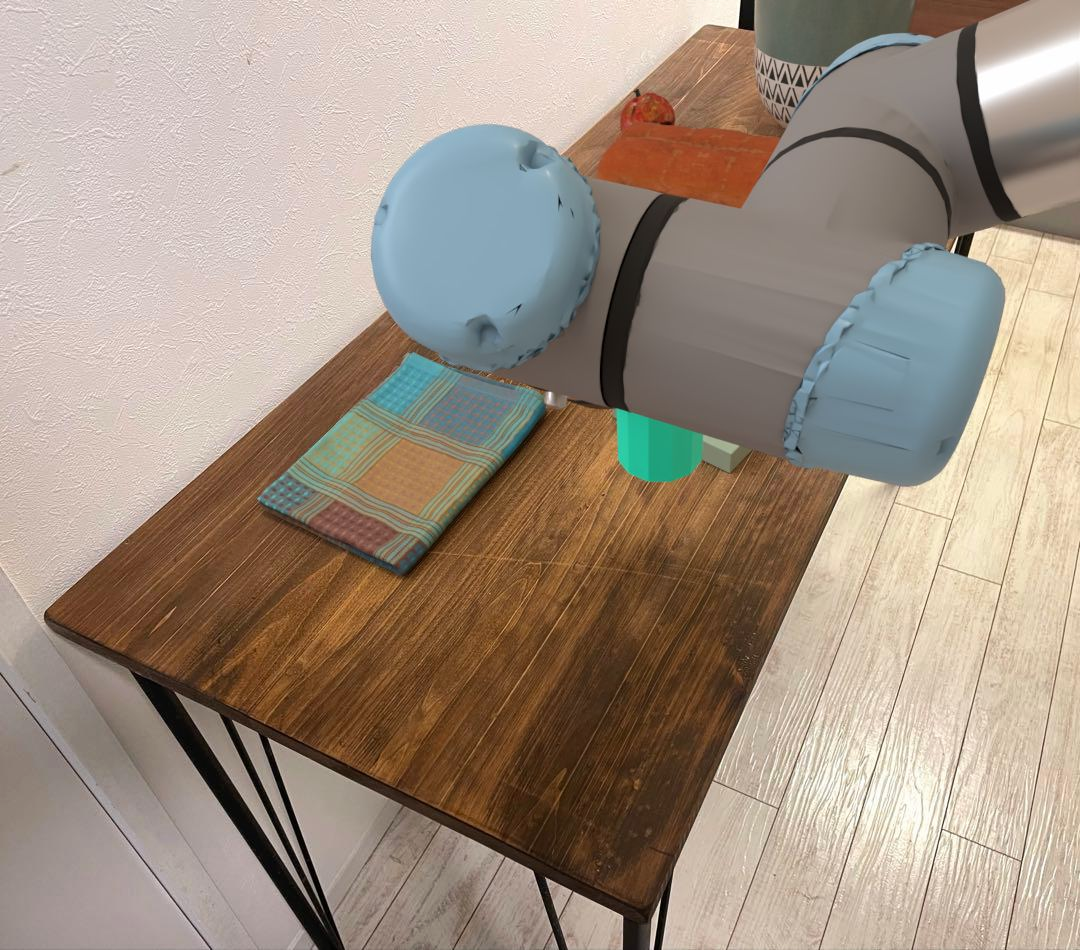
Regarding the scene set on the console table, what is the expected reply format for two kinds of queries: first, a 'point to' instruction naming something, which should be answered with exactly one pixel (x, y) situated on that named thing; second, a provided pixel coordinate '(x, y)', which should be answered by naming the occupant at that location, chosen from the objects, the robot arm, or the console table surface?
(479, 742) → the console table surface
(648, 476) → the candle
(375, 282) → the robot arm
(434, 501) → the dish towel
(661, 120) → the red round fruit
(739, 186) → the bread
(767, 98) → the planter
